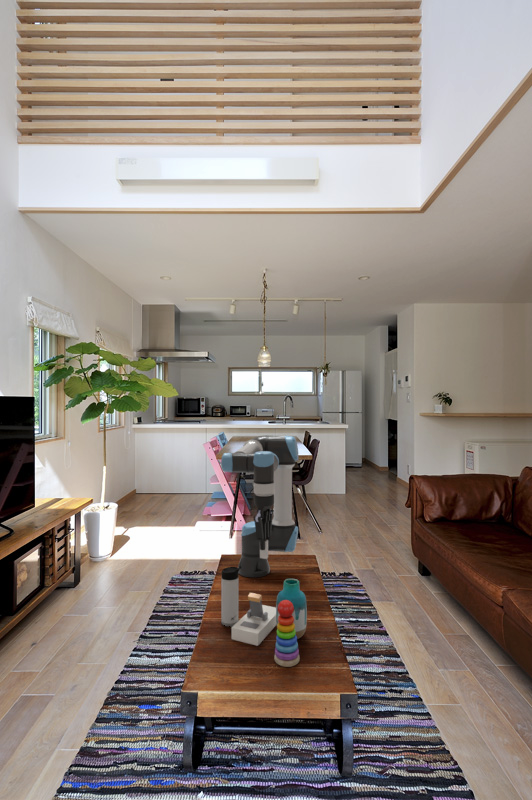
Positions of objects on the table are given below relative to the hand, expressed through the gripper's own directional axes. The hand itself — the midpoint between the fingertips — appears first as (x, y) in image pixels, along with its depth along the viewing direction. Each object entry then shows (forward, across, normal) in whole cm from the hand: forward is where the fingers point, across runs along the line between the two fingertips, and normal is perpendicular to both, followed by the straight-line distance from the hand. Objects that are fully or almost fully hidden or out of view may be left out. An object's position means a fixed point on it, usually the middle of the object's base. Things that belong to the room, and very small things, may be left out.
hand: (264, 557), depth 168 cm
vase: (+24, +6, +13) cm, 28 cm away
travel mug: (+24, +6, -11) cm, 27 cm away
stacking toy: (+23, +20, +17) cm, 35 cm away
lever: (+19, +6, 0) cm, 19 cm away
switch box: (+24, +6, 0) cm, 24 cm away
